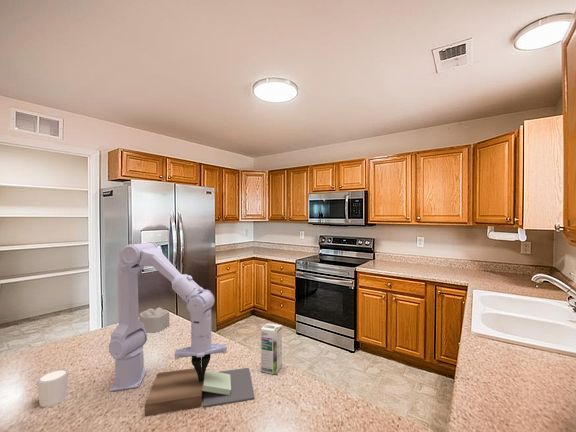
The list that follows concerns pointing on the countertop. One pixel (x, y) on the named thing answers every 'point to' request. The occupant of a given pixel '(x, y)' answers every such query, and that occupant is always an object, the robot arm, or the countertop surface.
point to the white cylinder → (52, 387)
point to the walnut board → (174, 392)
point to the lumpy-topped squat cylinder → (154, 319)
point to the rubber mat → (232, 389)
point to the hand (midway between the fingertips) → (201, 379)
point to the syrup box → (271, 348)
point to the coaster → (217, 382)
